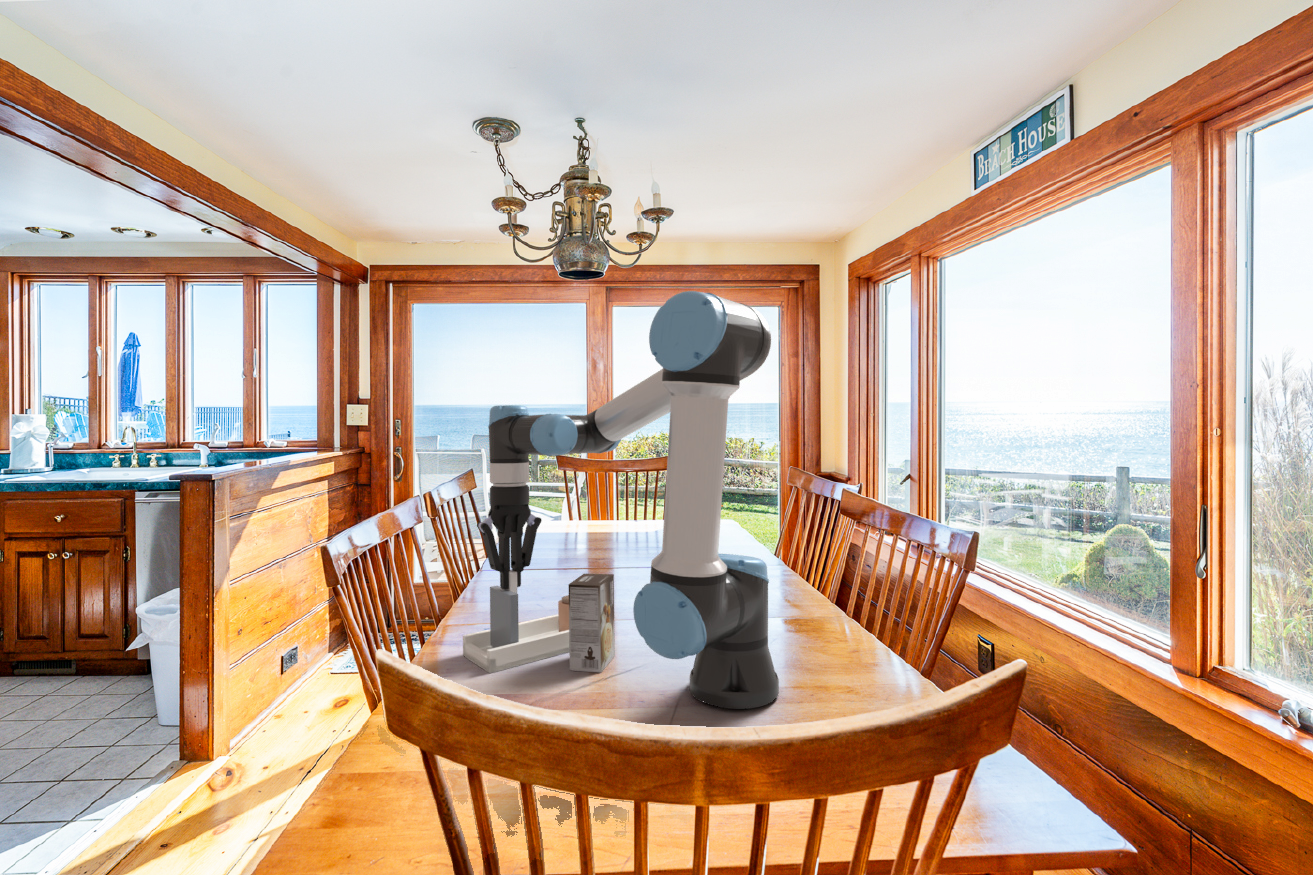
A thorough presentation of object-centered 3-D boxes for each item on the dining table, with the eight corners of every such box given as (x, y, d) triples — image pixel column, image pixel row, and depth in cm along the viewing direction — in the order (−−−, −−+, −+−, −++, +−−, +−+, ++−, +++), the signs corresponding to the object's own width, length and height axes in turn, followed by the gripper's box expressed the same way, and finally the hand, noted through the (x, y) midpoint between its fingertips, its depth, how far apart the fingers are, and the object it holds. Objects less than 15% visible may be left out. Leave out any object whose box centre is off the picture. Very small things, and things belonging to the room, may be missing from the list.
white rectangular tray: (607, 641, 131) (606, 613, 130) (489, 673, 114) (489, 640, 114) (575, 628, 140) (575, 601, 140) (463, 655, 123) (462, 625, 123)
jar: (592, 635, 132) (592, 598, 132) (568, 641, 128) (568, 603, 128) (577, 628, 136) (576, 592, 136) (553, 634, 133) (552, 597, 133)
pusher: (518, 655, 119) (518, 594, 119) (511, 657, 118) (510, 595, 118) (497, 643, 126) (497, 585, 126) (490, 645, 125) (489, 586, 125)
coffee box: (584, 653, 124) (583, 572, 124) (615, 655, 122) (614, 573, 122) (568, 671, 115) (567, 583, 115) (602, 673, 113) (601, 585, 113)
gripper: (530, 481, 130) (531, 595, 130) (469, 485, 122) (471, 606, 122) (548, 483, 124) (549, 602, 124) (486, 487, 116) (487, 615, 116)
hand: (510, 604), depth 123 cm, fingers closed
